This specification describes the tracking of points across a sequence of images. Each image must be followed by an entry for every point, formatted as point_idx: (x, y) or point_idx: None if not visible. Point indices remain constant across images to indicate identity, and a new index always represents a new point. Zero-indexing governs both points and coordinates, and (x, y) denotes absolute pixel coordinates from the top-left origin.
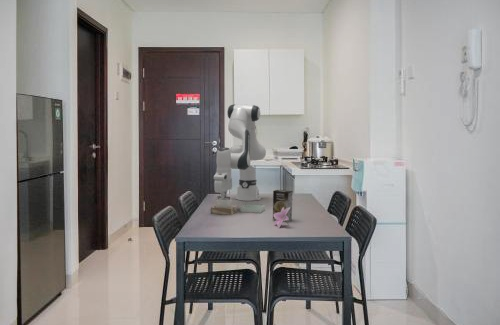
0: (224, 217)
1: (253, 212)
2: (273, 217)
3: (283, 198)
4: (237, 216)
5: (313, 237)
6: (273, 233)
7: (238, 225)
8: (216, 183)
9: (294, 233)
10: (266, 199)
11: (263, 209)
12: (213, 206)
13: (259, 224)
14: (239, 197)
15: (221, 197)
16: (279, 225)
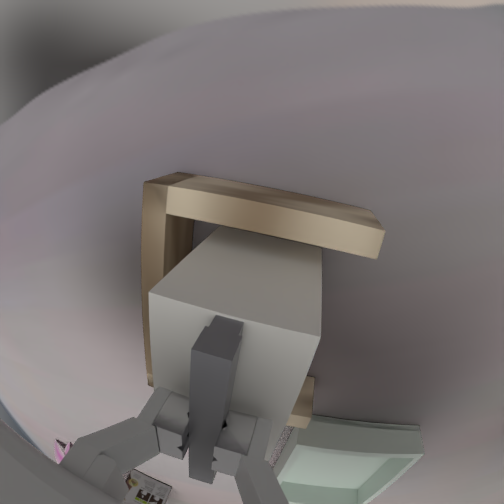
0: (79, 311)
1: (277, 461)
2: (128, 476)
3: None
4: (136, 384)
5: (40, 451)
6: (15, 410)
7: (10, 356)
8: None
9: (40, 441)
10: None
11: (333, 492)
12: (230, 198)
13: (56, 417)
14: None
15: (150, 399)
16: (55, 446)
